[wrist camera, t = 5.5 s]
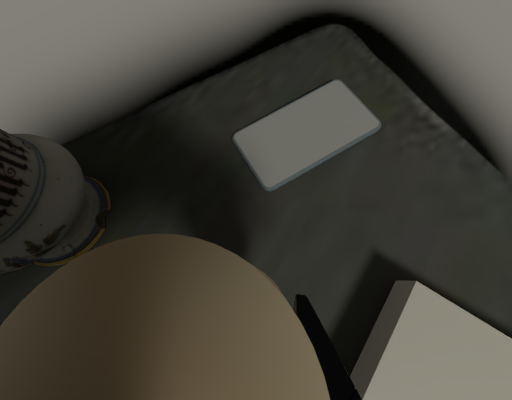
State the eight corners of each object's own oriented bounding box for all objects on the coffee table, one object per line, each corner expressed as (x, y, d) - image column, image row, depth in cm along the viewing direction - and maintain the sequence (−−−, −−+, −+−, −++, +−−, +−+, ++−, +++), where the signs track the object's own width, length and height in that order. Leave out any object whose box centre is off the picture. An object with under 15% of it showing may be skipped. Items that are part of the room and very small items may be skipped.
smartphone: (229, 134, 26) (338, 75, 27) (230, 139, 27) (336, 82, 28) (266, 193, 23) (385, 124, 24) (266, 196, 24) (381, 130, 25)
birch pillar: (229, 370, 14) (-63, 1009, 2) (194, 293, 16) (-84, 346, 3) (299, 324, 15) (441, 562, 2) (258, 253, 16) (217, 179, 4)
